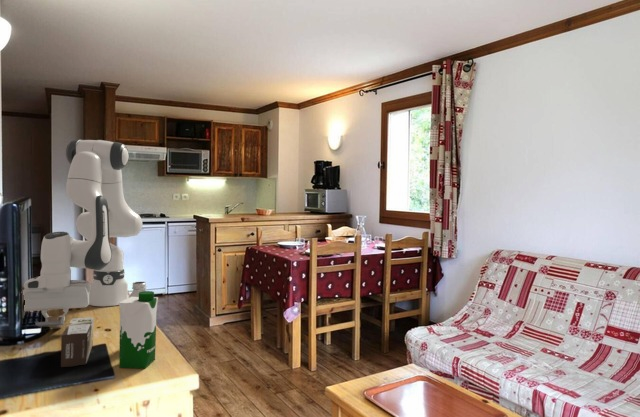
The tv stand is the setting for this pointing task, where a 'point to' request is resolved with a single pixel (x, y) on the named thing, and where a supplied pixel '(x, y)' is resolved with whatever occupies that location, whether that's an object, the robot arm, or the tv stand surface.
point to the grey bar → (51, 323)
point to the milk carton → (138, 330)
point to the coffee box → (77, 342)
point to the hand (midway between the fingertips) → (55, 321)
